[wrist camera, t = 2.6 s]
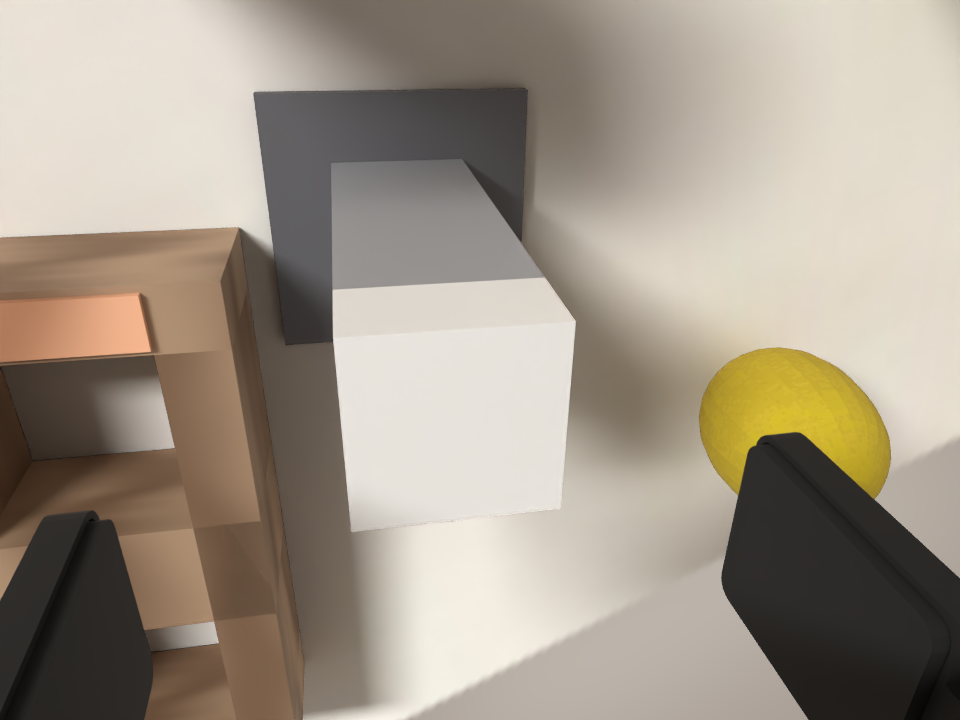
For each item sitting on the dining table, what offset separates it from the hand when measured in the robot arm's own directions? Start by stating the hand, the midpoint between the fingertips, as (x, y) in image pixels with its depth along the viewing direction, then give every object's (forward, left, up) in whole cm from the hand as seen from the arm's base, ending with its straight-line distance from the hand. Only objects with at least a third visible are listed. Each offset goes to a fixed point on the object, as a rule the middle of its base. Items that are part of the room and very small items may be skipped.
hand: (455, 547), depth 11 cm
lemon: (-13, +7, -15) cm, 21 cm away
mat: (0, 0, -15) cm, 15 cm away
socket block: (+10, +10, -15) cm, 20 cm away
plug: (0, 0, -14) cm, 14 cm away
